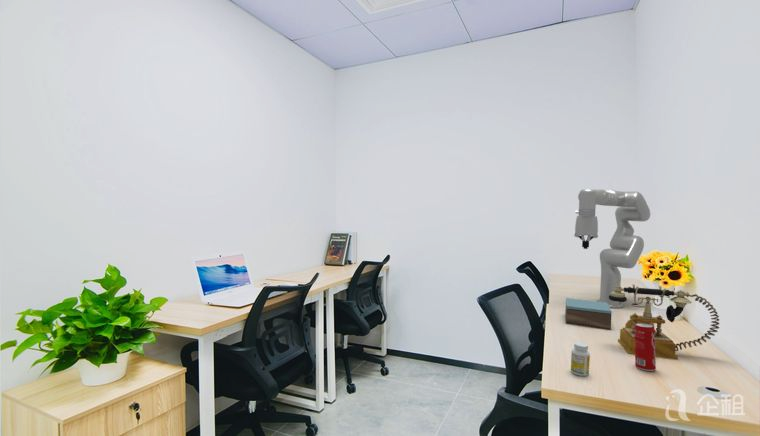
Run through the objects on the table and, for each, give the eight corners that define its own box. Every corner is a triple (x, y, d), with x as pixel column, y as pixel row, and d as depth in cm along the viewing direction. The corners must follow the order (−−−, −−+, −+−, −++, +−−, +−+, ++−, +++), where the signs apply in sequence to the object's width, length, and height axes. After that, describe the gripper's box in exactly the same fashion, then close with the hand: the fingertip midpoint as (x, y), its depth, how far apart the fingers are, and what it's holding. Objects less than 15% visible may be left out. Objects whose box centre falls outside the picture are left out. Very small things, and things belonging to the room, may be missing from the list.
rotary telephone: (700, 347, 149) (703, 285, 148) (725, 365, 133) (729, 295, 132) (599, 336, 160) (602, 277, 159) (611, 351, 143) (614, 286, 142)
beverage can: (655, 373, 125) (657, 329, 124) (631, 368, 129) (634, 325, 128) (655, 367, 130) (657, 324, 129) (633, 362, 134) (635, 320, 133)
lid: (565, 300, 190) (565, 297, 190) (607, 305, 182) (607, 302, 182) (566, 308, 176) (566, 305, 175) (611, 313, 168) (611, 311, 168)
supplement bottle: (577, 376, 122) (578, 347, 121) (567, 369, 127) (568, 341, 127) (592, 376, 122) (593, 347, 122) (582, 368, 128) (583, 341, 127)
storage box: (565, 314, 190) (565, 301, 190) (606, 320, 183) (607, 305, 182) (566, 323, 176) (566, 309, 176) (610, 330, 168) (611, 314, 168)
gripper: (570, 213, 194) (569, 248, 195) (604, 214, 188) (602, 250, 189) (570, 212, 201) (569, 247, 202) (602, 213, 195) (601, 248, 195)
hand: (585, 248), depth 195 cm, fingers closed
